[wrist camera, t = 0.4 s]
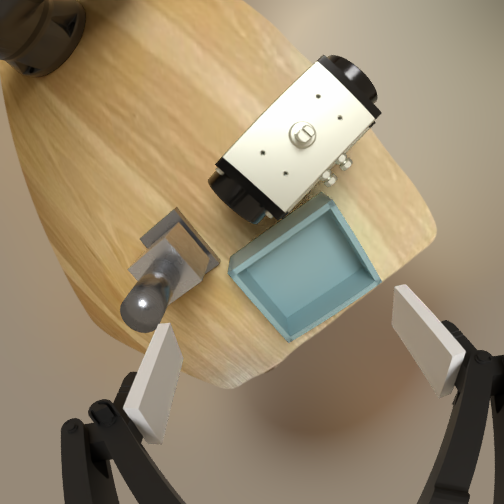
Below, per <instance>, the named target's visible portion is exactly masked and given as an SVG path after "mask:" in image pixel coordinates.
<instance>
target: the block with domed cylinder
mask: <svg viewBox="0 0 504 504" xmlns="http://www.w3.org/2000/svg"><path fill="white" fill-rule="evenodd" d="M209 259H210V258H209V257H208V256H207V255H206V254H205V253H204V251H203V250H202V249H201V248H200V247H199V245H198V244H197V243H196V242H195V241H194V239H193V238H192V237H191V236H190V235H189V233H188V232H187V231H186V230H185V229H184V227H183V226H182V225H181V224H180V223H179V222H178V223H177V224H175V225H174V226H173V227H172V228H171V229H169V230H168V231H167V232H166V233H165V234H163V235H162V236H161V237H160V238H159V239H158V240H156V241H155V242H154V243H153V244H152V245H150V246H149V247H148V248H147V249H146V250H145V251H144V252H143V253H142V254H141V255H140V256H139V257H138V258H137V260H136V261H135V262H134V263H133V264H132V265H131V266H130V267H129V268H128V271H129V272H130V273H131V274H132V275H133V276H134V277H135V278H136V280H137V281H138V282H137V283H136V285H135V286H134V287H133V289H132V290H131V291H130V293H129V294H128V295H127V297H126V298H125V300H124V301H123V302H122V304H121V307H120V313H121V316H122V319H123V320H124V322H125V323H126V324H127V325H128V326H129V327H130V328H131V329H133V330H135V331H138V332H142V333H148V332H152V331H154V330H155V329H156V328H157V326H158V324H160V321H161V319H162V317H163V315H164V313H165V311H166V308H167V306H168V305H169V304H171V303H172V302H173V301H175V300H176V299H178V298H179V297H180V296H182V295H183V294H184V293H186V292H187V291H189V290H190V289H191V288H193V287H194V286H196V285H197V284H198V283H200V282H201V281H202V280H203V277H204V274H205V271H206V268H207V265H208V262H209Z"/></svg>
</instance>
